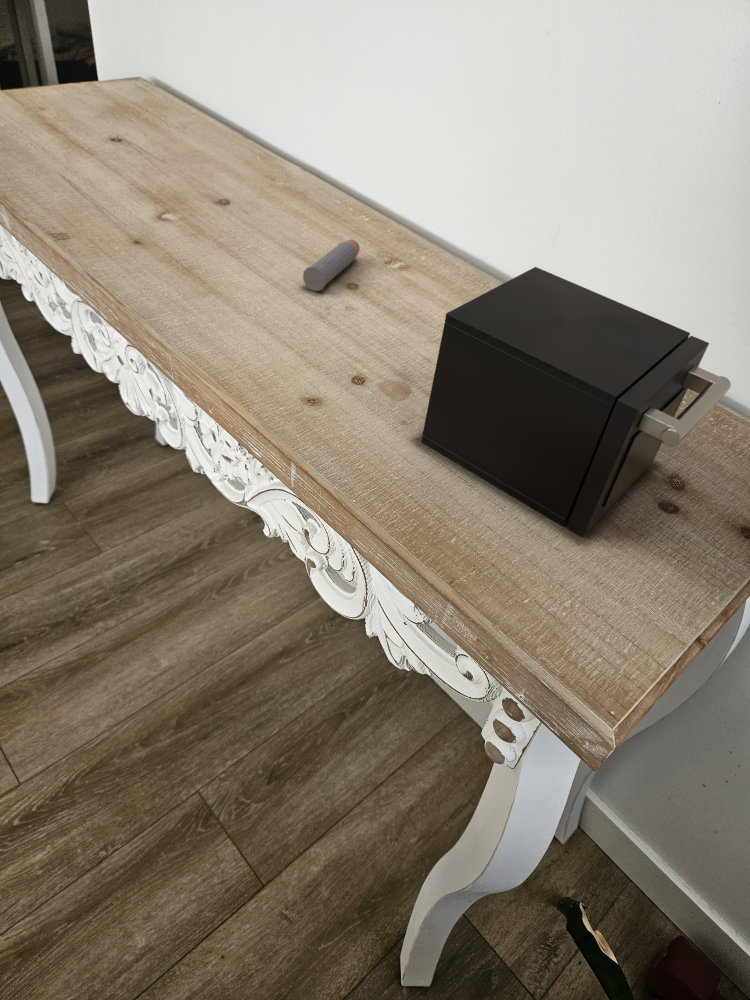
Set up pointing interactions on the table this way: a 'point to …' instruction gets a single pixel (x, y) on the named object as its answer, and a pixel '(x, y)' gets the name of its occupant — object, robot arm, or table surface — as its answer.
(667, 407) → the oven door
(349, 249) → the bullet cartridge
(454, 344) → the oven
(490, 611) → the table surface
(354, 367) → the table surface
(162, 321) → the table surface
